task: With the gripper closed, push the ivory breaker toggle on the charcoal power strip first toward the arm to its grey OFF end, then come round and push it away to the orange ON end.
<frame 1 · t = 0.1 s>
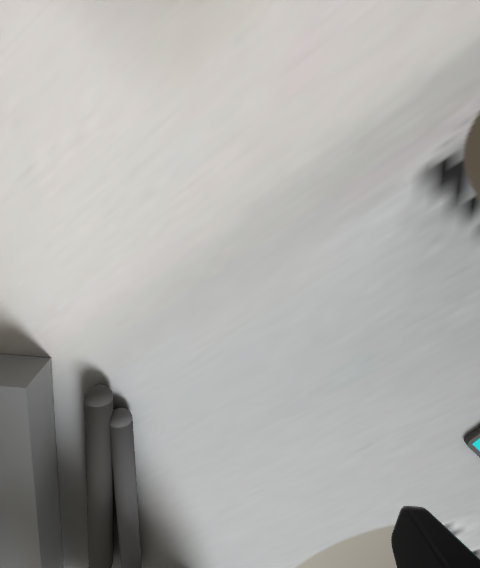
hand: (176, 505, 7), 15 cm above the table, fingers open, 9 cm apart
grey thin rod: (129, 491, 26), on the table
cord a: (103, 478, 26), on the table
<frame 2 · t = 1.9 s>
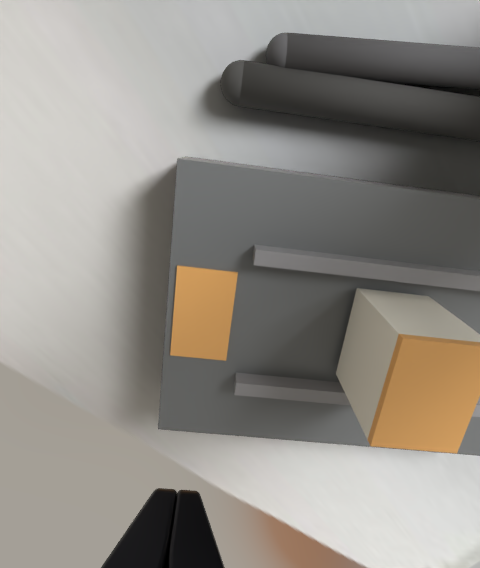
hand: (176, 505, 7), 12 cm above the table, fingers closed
grey thin rod: (438, 69, 16), on the table
power strip: (355, 305, 19), on the table
cord a: (404, 111, 16), on the table
toggle: (402, 363, 14), point 5 cm above the table, slide at 4.0 cm
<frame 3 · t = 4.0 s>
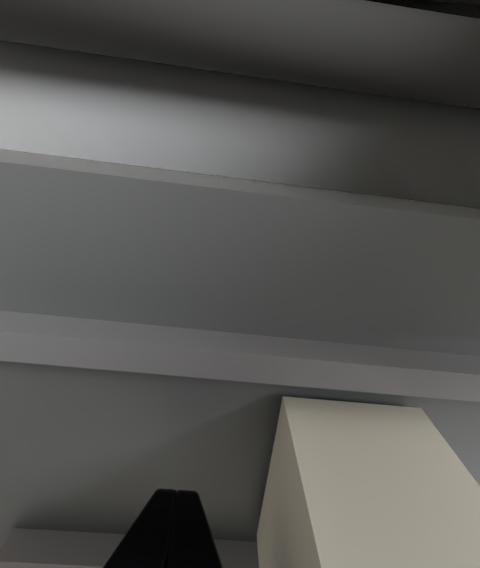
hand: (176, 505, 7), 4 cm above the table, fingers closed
power strip: (254, 385, 12), on the table
cord a: (307, 50, 9), on the table
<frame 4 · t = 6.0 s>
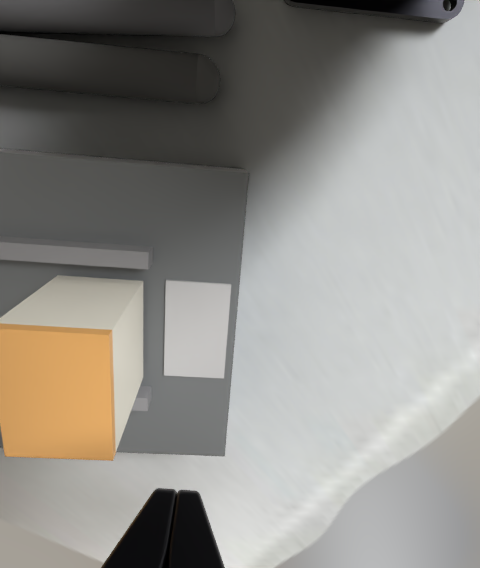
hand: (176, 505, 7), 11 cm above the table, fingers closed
grey thin rod: (34, 14, 14), on the table
power strip: (33, 291, 17), on the table
cord a: (11, 65, 14), on the table
toggle: (82, 358, 12), point 5 cm above the table, slide at 0.0 cm
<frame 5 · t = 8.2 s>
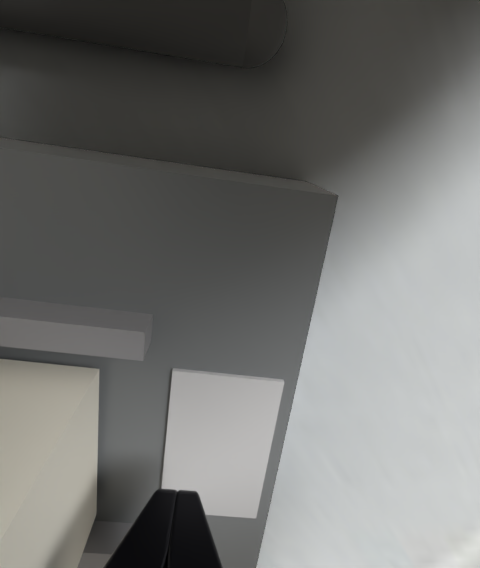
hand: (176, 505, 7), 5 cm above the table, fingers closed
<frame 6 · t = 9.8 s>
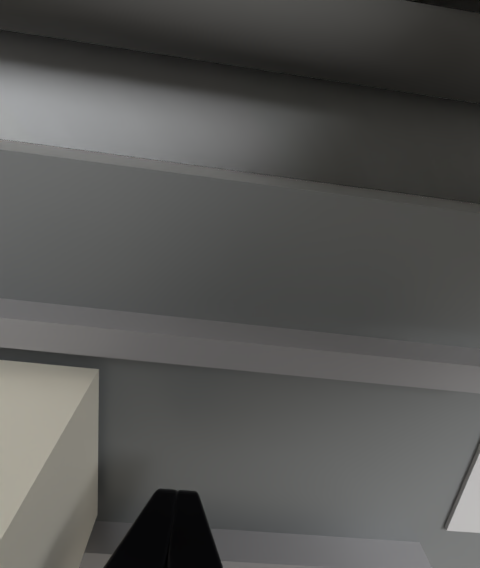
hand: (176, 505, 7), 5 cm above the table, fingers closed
power strip: (215, 374, 12), on the table
cord a: (259, 35, 9), on the table
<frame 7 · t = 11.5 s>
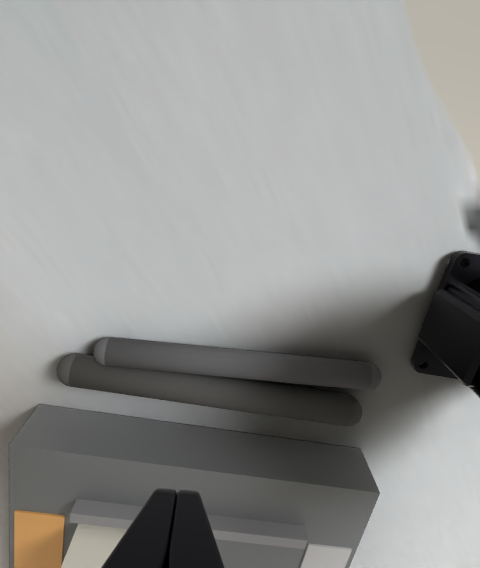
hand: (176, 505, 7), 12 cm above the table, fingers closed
grey thin rod: (240, 356, 20), on the table
power strip: (189, 507, 23), on the table
cord a: (215, 381, 20), on the table
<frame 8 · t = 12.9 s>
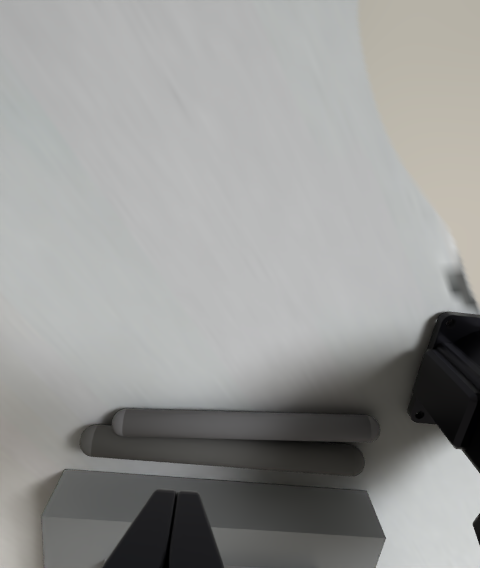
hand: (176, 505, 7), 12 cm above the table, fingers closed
grey thin rod: (247, 416, 21), on the table
power strip: (209, 551, 25), on the table
cord a: (225, 440, 22), on the table
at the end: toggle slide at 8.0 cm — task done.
